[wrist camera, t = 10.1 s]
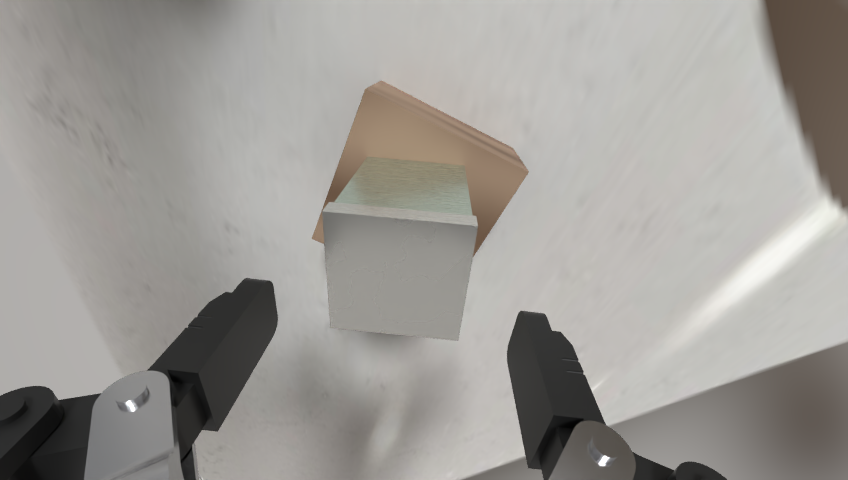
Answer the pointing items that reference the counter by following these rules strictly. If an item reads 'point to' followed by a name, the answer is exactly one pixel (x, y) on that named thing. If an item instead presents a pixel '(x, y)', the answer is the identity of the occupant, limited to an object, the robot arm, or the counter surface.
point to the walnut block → (429, 151)
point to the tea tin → (400, 249)
